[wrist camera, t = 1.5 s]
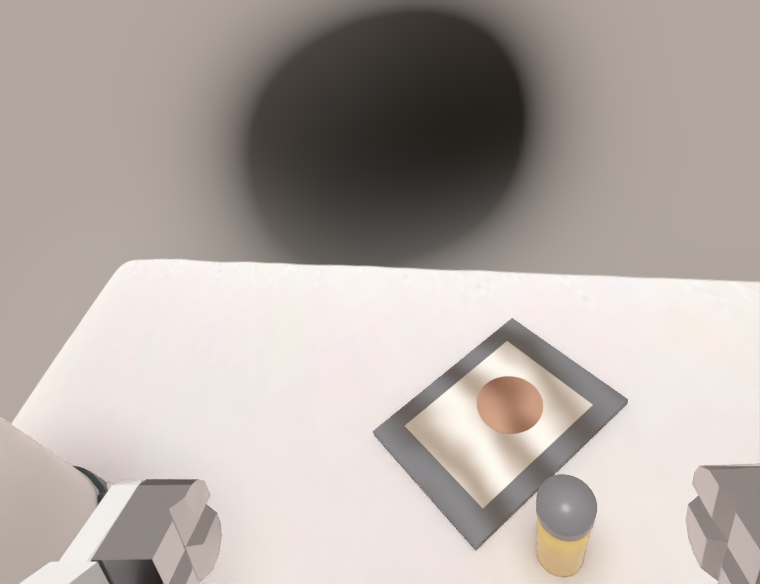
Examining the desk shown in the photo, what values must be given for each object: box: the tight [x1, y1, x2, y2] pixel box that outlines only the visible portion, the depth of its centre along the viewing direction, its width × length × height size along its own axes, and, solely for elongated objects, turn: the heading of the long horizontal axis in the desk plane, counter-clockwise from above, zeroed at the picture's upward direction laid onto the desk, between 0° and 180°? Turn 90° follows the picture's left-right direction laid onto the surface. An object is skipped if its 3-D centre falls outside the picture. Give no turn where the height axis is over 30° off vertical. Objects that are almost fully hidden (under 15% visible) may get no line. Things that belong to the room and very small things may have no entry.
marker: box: [536, 474, 597, 577], centre depth 43 cm, size 4×4×12 cm
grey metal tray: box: [373, 318, 628, 550], centre depth 57 cm, size 22×16×1 cm
